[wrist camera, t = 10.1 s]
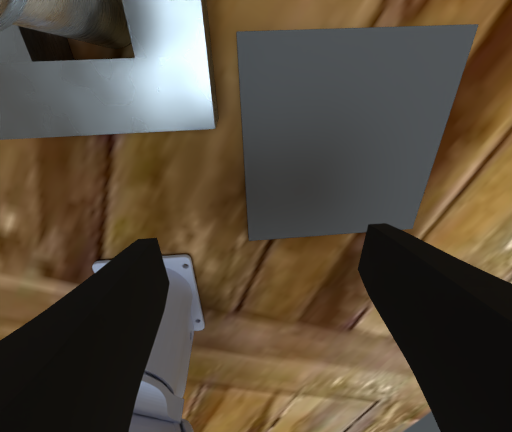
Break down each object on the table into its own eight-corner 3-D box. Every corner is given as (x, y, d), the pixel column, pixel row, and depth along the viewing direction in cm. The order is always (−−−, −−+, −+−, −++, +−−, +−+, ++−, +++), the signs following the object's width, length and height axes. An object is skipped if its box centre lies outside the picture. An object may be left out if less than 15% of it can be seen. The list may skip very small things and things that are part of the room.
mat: (409, 226, 22) (412, 228, 21) (248, 238, 21) (248, 240, 21) (472, 25, 15) (478, 24, 14) (236, 32, 14) (236, 31, 14)
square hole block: (218, 118, 16) (215, 128, 13) (42, 127, 16) (-5, 139, 13) (190, -152, 11) (174, -242, 8) (-82, -154, 10) (-216, -253, 7)
